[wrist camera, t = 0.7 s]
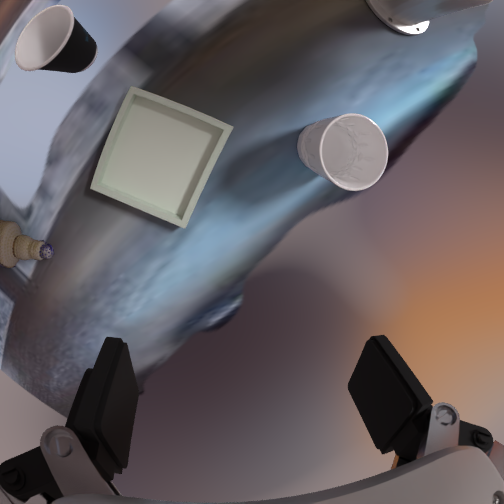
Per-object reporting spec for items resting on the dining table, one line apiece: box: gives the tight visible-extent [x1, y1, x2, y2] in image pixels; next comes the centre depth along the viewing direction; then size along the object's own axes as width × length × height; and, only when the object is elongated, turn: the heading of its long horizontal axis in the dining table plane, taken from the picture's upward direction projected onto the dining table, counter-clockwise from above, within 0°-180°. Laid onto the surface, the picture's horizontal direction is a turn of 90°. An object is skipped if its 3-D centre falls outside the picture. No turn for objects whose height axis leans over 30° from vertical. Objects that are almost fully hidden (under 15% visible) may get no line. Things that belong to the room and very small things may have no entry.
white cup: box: [297, 114, 388, 191], centre depth 30 cm, size 8×8×10 cm
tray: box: [90, 86, 233, 228], centre depth 31 cm, size 14×14×2 cm
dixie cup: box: [15, 5, 98, 73], centre depth 20 cm, size 8×8×11 cm
